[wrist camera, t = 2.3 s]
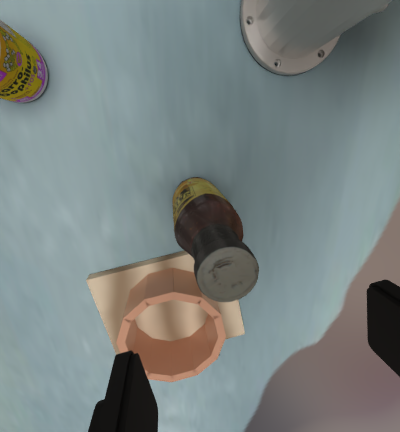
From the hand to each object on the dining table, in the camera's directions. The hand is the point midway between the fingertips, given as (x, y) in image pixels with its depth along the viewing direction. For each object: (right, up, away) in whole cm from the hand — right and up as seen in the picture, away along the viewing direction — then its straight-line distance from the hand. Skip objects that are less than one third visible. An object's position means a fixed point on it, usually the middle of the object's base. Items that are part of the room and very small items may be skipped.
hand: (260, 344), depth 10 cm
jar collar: (-6, -9, +27) cm, 29 cm away
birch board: (-7, -8, +28) cm, 30 cm away
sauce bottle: (-3, +7, +24) cm, 26 cm away
